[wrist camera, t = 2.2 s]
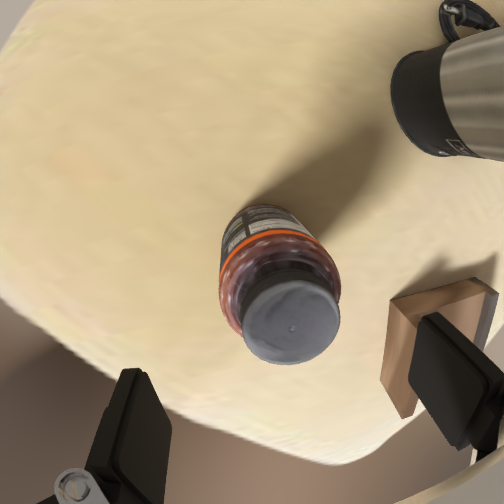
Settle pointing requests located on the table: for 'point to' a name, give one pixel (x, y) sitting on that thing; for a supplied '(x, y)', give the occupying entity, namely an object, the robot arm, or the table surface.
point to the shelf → (406, 322)
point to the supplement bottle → (278, 286)
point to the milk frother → (455, 88)
